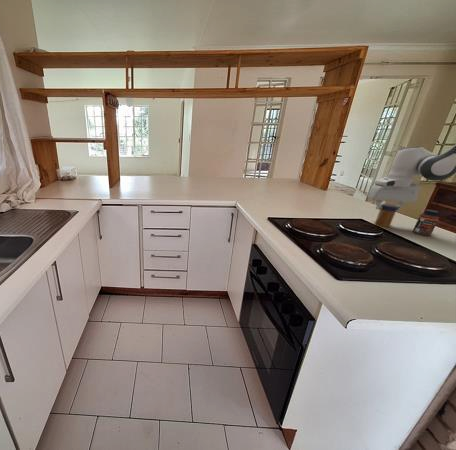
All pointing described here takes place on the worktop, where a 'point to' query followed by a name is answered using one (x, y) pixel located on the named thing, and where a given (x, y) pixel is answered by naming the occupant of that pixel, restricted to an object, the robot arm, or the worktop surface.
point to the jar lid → (389, 207)
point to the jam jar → (384, 218)
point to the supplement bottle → (426, 223)
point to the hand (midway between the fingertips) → (387, 209)
